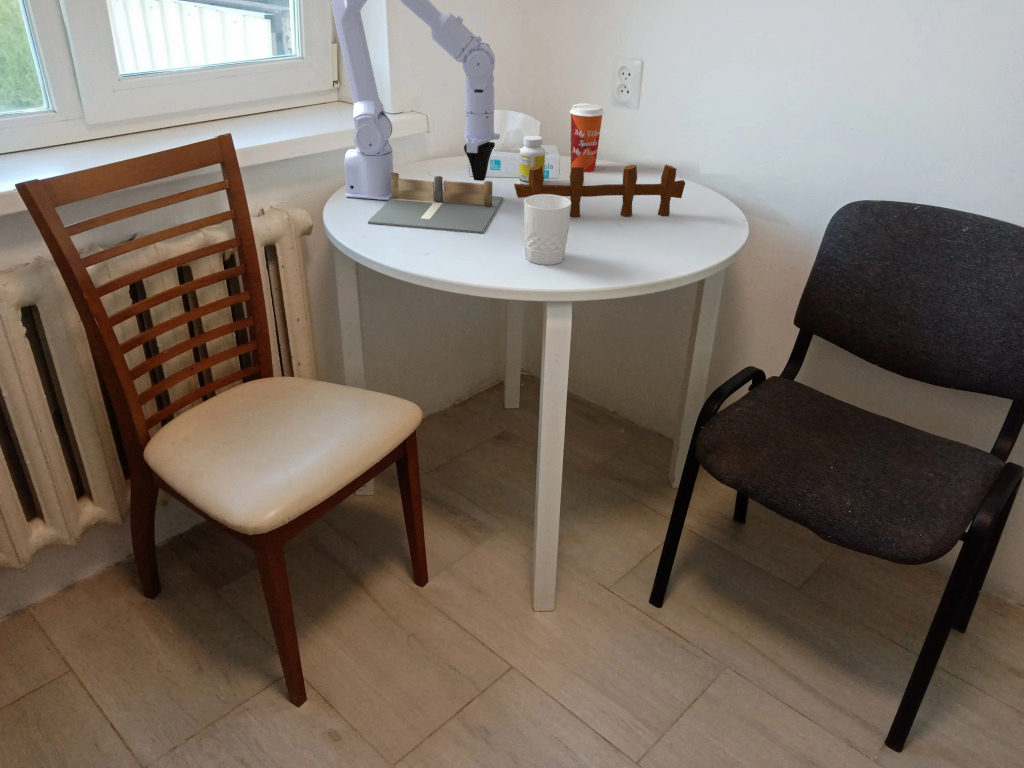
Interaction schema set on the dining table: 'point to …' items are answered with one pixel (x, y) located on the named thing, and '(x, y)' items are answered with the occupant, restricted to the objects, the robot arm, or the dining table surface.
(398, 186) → the fence base
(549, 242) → the white cup
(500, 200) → the board
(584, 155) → the paper cup
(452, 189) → the fence gate
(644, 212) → the dining table surface
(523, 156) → the supplement bottle
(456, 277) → the dining table surface
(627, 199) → the fence
